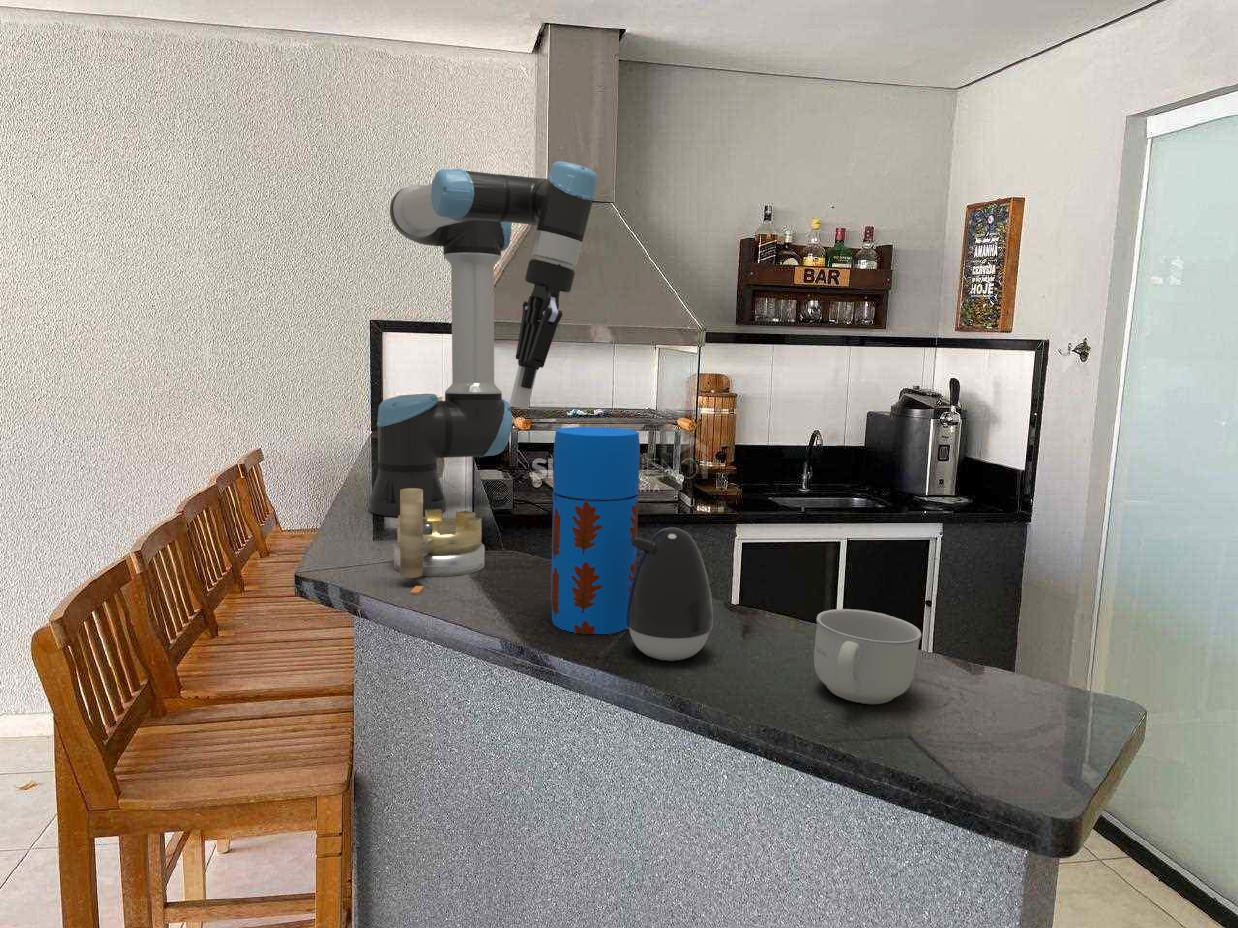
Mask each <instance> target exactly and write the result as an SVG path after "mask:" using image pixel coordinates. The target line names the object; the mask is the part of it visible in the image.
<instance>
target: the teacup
mask: <svg viewBox="0 0 1238 928" xmlns="http://www.w3.org/2000/svg"><path fill="white" fill-rule="evenodd" d="M921 638H922V632H921V630H920V629H919V628H918V627H917V626H915V625H914V624H912V623H910V622H909V621H906V620H903V619H901V618H898V617H895V616H891V615H888V614H886V613H882V612H875V611H870V610H864V609H852V608H851V609H850V608H838V609H837V608H836V609H828V610H824V611H822V612H820V613H818V614H817V616H816V630H815V638H814V639H815V640H814V650H813V665H814V670H815V673H816V675H817V677H818V679H819V680H820V681H821V682H822V683H823V684H824V685H825V686H826V688H827V689H828V690H829V691H830V692H831V694H833V695H835V696H837V697H839V698H841V699H844V700H847V701H850V702H854V703H858V704H859V703H860V704H866V705H881V704H885V703H888V702H891V701H892V700H894V699H895V698H897V697H899V696H901V695H903V694H904V693H905V692H906V691H907V690H908V689H909V688H910V686H911V684H912V681H913V679H914V675H915V670H916V664H917V658H918V652H919V645H920V640H921Z"/></svg>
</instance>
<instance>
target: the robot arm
mask: <svg viewBox="0 0 1238 928" xmlns="http://www.w3.org/2000/svg"><path fill="white" fill-rule="evenodd" d="M597 181H598V175H597V173H596V172H595V171H593V170H592V169H590V168H589V167H585V166H582V165H579V164H576V163H574V162H573V163H572V162H567V161H555V162H553V164H552V165H551V169H550V172H549V174H548V176H547V178H543V177H532V176H531V177H529V176H520V175H512V174H510V175H509V174H501V173H499V174H497V173H488V172H481V171H472V170H471V171H470V170H464V169H461V168H454V169H453V168H452V169H449V168H448V169H447V168H442V169H439V170H438V171H436V173H435V174H434V177H433V179H432V182H431V183H429V184H427V185H425V184H424V185H423V184H411V185H407V186H405V187H403V188H400V190H398V191H397V192H396V193H395V194H394V196H393V197H392V199H391V201H390V205H389V217H390V221H391V223H392V225H393V227H394V228H395V229H396V231H398V233H399V234H400V235H401V236H403V237H405V238H406V239H408V240H410V241H412V242H414V243H418V244H420V245H425V246H431V247H432V246H434V247H441V248H442V247H443V249H442V250H443V251H442V253H443V258H444V259H445V260H446V261H447V262H448V263H449V265H450V266H451V267H450V268H451V269H450V271H451V274H450V276H451V277H450V278H451V347H452V348H451V371H452V372H451V374H452V376H451V377H452V381H451V382H452V383H451V384H450V386H449V387H448V388H447V389H446V390H445V391H444V400H439V398H438V395H437V394H436V393H419V394H418V393H416V394H415V393H414V394H406V395H399V396H393V397H389V398H387V399H384V400H382V402H381V403H380V404H379V405H378V410H377V422H376V426H377V453H378V454H377V455H378V456H377V461H378V462H377V465H378V467H377V469H378V470H377V475H376V479H375V481H374V485H373V488H372V491H371V494H370V498H369V503H368V505H369V508H368V509H369V512H370V513H372V514H375V515H379V516H384V517H396V518H398V516H399V515H400V490H401V489H408V488H416V489H422V490H423V517H425V510H428V509H440V510H441V511H442V513H443V512H445V511H446V510H447V509H446V508H447V505H446V504H447V499H446V496H445V492H444V490H443V487H442V484H441V480H440V477H439V475H438V459H439V458H440V459H442V458H444V459H445V458H446V459H447V458H471V457H475V458H476V457H478V458H483V457H489V456H490V457H491V456H492V457H493V456H496V455H499V454H501V453H502V452H503V451H504V450H505V449H506V447H507V445H508V442H509V440H510V437H511V433H512V426H513V413H512V412H513V411H512V412H511V410H512V408H511V407H515V408H520V409H526V410H528V409H529V404H530V400H531V397H532V394H533V388H534V384H535V380H536V376H537V371H538V370H540V368H541V369H542V368H544V367H545V366H544V365H545V363H546V360H547V357H548V354H549V351H550V348H551V346H552V342H553V339H554V336H555V334H556V330H557V327H558V325H559V323H560V322H561V321H560V320H562V317H563V311H562V310H559V307H560V304H559V303H560V292H562V293H563V292H564V293H570V292H571V291H572V287H573V283H574V278H575V275H576V272H575V270H574V269H573V268H574V267H576V266H577V265H578V261H579V256H581V255H582V254H583V252H584V251H583V249H581V248H582V245H583V241H584V236H585V233H586V229H587V226H588V225H587V224H588V221H589V218H590V214H591V211H592V206H593V202H594V199H595V197H596V195H595V193H596V186H597ZM512 224H521V225H522V224H523V225H531V226H537V227H536V230H535V233H534V238H533V242H532V246H531V251H530V255H531V256H532V257H533V258H531V259H530V260H529V261H528V263H527V268H526V273H525V278H524V279H525V280H524V281H526V283H528V284H532V285H534V287H533V290H532V292H531V293H530V295H529V297H528V301H524V302H523V303H522V315H521V322H520V328H519V329H520V330H519V334H518V335H519V336H518V341H517V347H516V354H515V359H516V360H517V364H518V368H517V371H516V376H515V379H514V385H513V388H512V393H511V395H510V400H509V402H508V401H507V400H505V399H503V395H502V394H503V393H502V390H500V388H499V387H498V386H496V384H495V296H494V295H495V287H494V284H495V283H494V282H495V280H494V278H495V277H494V276H495V270H494V269H495V268H494V267H495V265H496V264H497V263H498V262H499V261H500V260H501V259H502V252H503V251H505V250H507V249H509V247H510V244H511V237H512V234H513V233H512V232H513V230H512Z"/></svg>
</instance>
